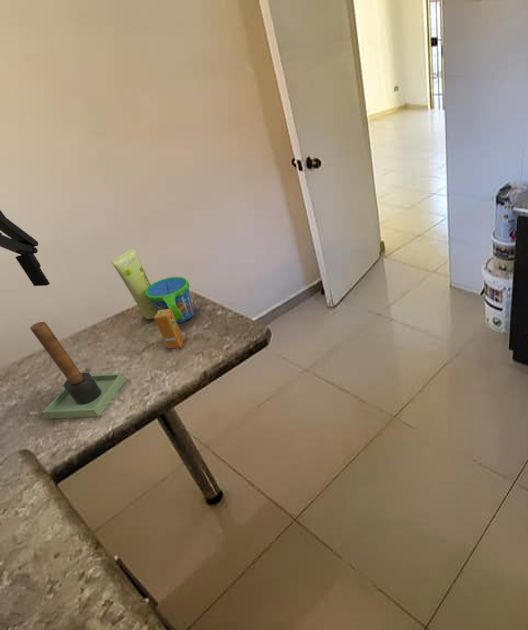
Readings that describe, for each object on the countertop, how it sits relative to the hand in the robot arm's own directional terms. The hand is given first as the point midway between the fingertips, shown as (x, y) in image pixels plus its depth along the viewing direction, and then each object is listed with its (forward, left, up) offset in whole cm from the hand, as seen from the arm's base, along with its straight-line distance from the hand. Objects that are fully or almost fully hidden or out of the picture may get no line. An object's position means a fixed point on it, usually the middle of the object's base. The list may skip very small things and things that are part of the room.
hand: (17, 304), depth 82 cm
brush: (+1, 0, -25) cm, 25 cm away
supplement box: (+12, +18, -26) cm, 34 cm away
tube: (-1, +32, -26) cm, 42 cm away
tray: (0, 0, -26) cm, 26 cm away
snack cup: (+8, +31, -26) cm, 41 cm away
